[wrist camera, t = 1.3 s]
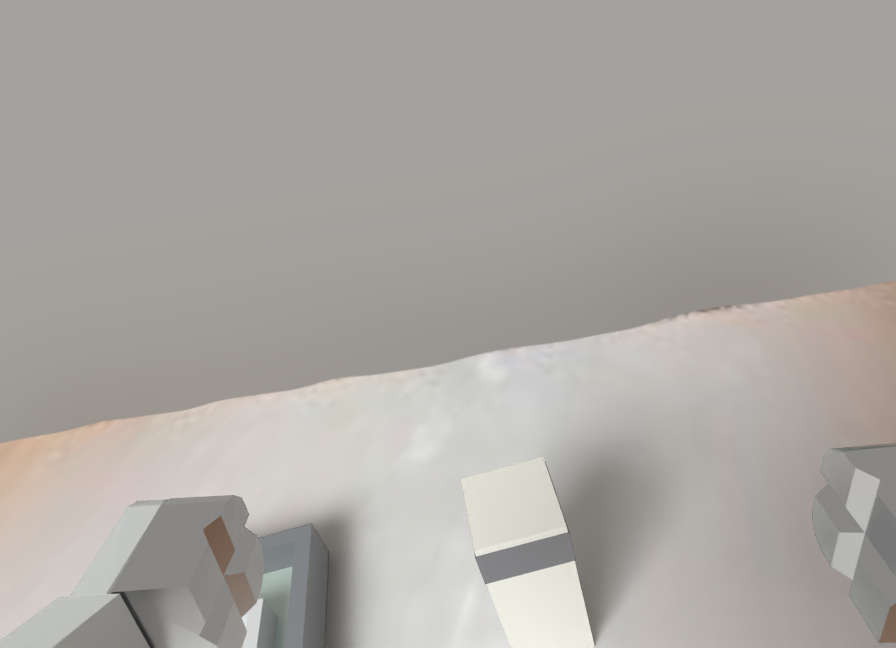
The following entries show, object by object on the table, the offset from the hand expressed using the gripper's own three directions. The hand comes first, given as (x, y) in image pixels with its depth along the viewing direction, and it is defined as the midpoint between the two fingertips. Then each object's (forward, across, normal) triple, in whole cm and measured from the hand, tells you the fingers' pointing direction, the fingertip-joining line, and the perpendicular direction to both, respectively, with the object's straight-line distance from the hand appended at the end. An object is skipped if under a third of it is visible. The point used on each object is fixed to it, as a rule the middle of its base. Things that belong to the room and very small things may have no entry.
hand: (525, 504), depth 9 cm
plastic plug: (+15, -1, +24) cm, 28 cm away
